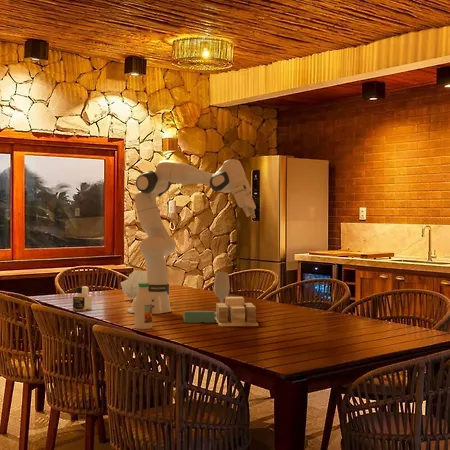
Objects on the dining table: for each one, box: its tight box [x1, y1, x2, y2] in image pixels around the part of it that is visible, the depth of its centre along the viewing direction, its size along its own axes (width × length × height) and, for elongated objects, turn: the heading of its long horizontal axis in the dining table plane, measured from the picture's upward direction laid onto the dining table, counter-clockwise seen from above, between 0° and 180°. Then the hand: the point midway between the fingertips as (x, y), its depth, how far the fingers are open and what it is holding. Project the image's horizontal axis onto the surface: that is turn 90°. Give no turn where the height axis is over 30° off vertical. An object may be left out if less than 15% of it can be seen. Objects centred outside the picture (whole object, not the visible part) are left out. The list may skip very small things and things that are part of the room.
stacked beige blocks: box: [214, 296, 259, 327], centre depth 315 cm, size 20×18×11 cm
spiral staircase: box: [120, 269, 147, 300], centre depth 388 cm, size 18×18×25 cm
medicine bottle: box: [72, 285, 93, 311], centre depth 352 cm, size 7×7×12 cm
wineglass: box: [213, 271, 231, 316], centre depth 340 cm, size 9×9×21 cm
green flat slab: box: [182, 310, 216, 324], centre depth 321 cm, size 14×14×5 cm
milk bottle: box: [134, 283, 153, 330], centre depth 297 cm, size 8×8×20 cm
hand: (251, 217), depth 321 cm, fingers open, 8 cm apart
